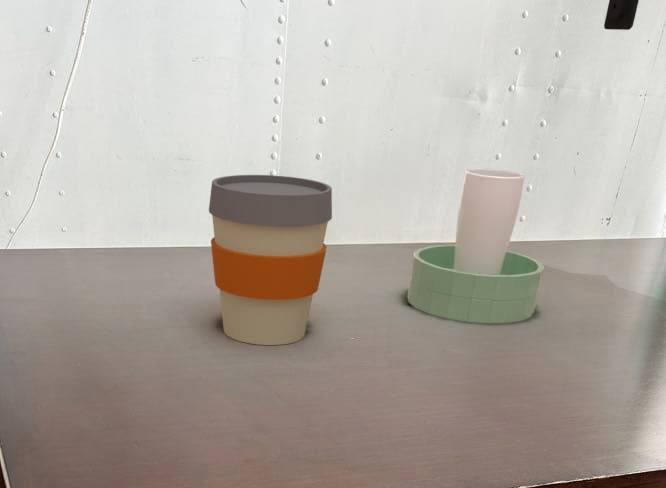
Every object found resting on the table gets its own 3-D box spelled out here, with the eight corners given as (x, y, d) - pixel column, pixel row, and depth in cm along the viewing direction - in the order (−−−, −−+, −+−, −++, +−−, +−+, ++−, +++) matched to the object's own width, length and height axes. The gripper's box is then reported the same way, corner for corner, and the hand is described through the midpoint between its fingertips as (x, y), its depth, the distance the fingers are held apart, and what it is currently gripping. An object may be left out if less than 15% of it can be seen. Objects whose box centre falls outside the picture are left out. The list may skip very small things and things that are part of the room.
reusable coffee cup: (246, 357, 82) (253, 199, 74) (186, 322, 91) (186, 177, 83) (344, 340, 88) (360, 192, 80) (278, 309, 97) (287, 172, 89)
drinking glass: (472, 315, 96) (498, 178, 88) (431, 300, 101) (452, 169, 93) (509, 308, 100) (538, 175, 92) (468, 294, 105) (491, 166, 97)
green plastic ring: (520, 297, 107) (530, 249, 104) (542, 333, 94) (555, 280, 91) (404, 288, 108) (410, 241, 104) (410, 323, 95) (418, 270, 92)
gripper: (671, -219, 67) (616, 28, 76) (812, -191, 73) (746, 34, 82) (604, -200, 72) (560, 27, 81) (740, -176, 79) (685, 33, 88)
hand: (653, 31), depth 82 cm, fingers open, 9 cm apart
